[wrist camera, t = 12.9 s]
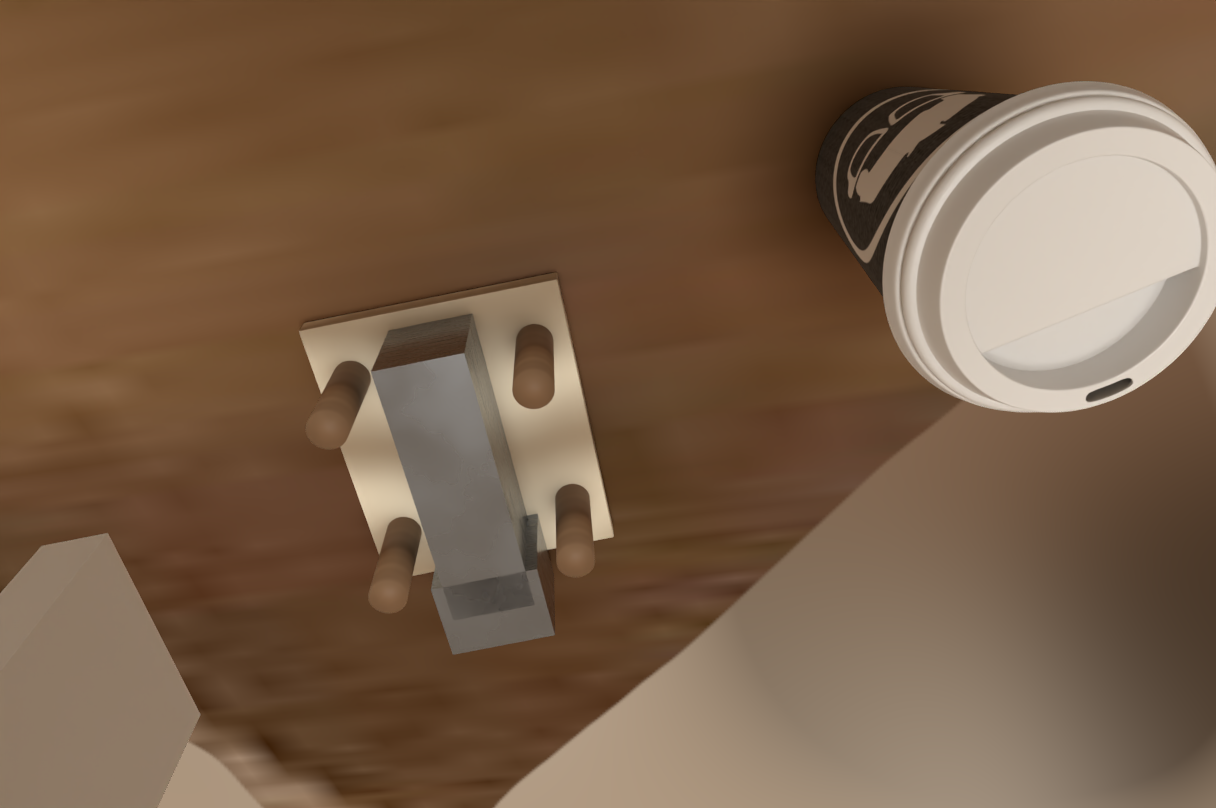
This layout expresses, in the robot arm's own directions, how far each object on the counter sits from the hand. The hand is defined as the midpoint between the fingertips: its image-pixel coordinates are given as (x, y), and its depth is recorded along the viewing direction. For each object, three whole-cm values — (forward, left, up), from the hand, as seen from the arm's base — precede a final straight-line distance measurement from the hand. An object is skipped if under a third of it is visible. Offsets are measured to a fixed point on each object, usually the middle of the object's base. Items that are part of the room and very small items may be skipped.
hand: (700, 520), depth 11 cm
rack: (+12, -8, -29) cm, 32 cm away
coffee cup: (+4, +12, -29) cm, 32 cm away
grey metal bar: (+12, -8, -28) cm, 31 cm away
